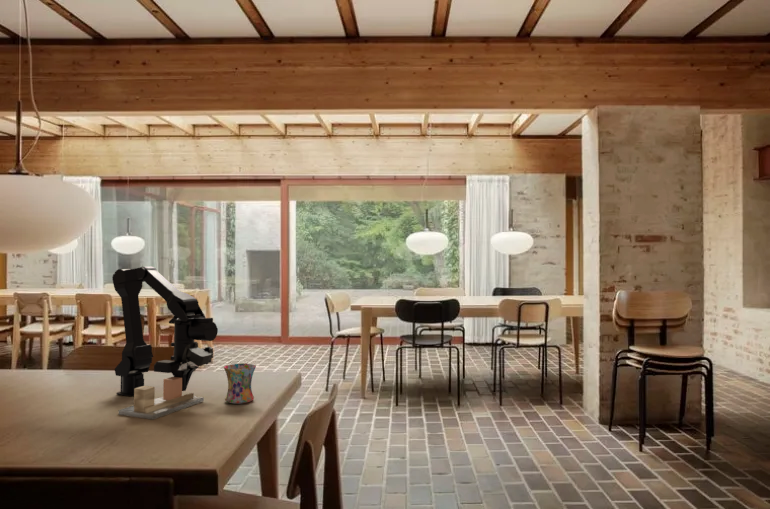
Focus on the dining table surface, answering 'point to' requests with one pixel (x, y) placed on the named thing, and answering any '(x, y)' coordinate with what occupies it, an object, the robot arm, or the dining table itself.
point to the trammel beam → (146, 399)
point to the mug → (239, 383)
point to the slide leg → (172, 388)
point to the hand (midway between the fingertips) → (183, 390)
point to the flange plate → (162, 411)
